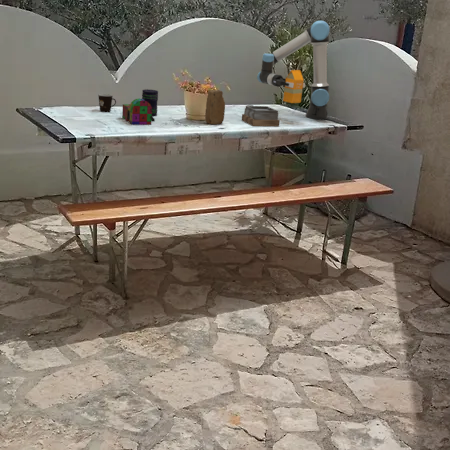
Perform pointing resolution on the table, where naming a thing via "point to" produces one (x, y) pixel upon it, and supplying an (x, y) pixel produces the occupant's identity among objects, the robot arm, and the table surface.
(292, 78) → the orange juice
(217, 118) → the block
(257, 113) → the grey square tray
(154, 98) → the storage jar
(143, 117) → the multicoloured round-topped piece
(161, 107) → the table surface
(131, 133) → the table surface
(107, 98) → the coffee mug
